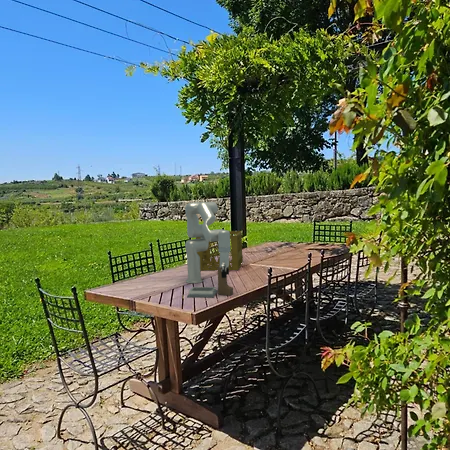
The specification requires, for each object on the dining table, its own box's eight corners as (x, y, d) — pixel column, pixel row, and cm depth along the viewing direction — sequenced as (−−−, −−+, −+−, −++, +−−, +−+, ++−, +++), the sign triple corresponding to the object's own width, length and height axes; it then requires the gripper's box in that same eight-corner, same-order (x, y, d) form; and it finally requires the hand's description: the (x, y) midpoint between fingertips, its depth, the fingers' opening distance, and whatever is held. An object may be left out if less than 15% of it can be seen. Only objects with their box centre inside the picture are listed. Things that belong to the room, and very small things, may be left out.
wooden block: (233, 294, 254) (232, 266, 253) (230, 295, 250) (229, 267, 249) (221, 292, 259) (220, 265, 257) (218, 294, 255) (217, 266, 253)
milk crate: (205, 263, 369) (204, 231, 366) (242, 263, 363) (242, 231, 361) (196, 271, 334) (195, 235, 331) (238, 271, 328) (237, 235, 326)
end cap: (192, 291, 265) (192, 286, 265) (217, 291, 262) (217, 286, 262) (187, 297, 249) (186, 292, 249) (213, 297, 247) (213, 292, 246)
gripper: (220, 247, 261) (221, 273, 263) (216, 251, 244) (217, 278, 245) (232, 247, 260) (232, 273, 261) (228, 251, 243) (229, 278, 244)
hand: (225, 276), depth 253 cm, fingers open, 9 cm apart
